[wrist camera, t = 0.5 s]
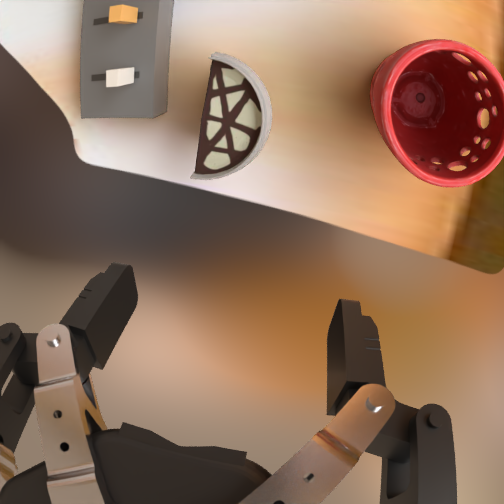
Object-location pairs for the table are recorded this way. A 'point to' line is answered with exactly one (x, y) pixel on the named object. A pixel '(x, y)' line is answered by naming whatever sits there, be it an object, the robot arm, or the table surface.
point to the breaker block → (125, 59)
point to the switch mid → (123, 14)
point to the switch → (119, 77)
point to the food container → (231, 119)
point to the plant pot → (439, 111)
